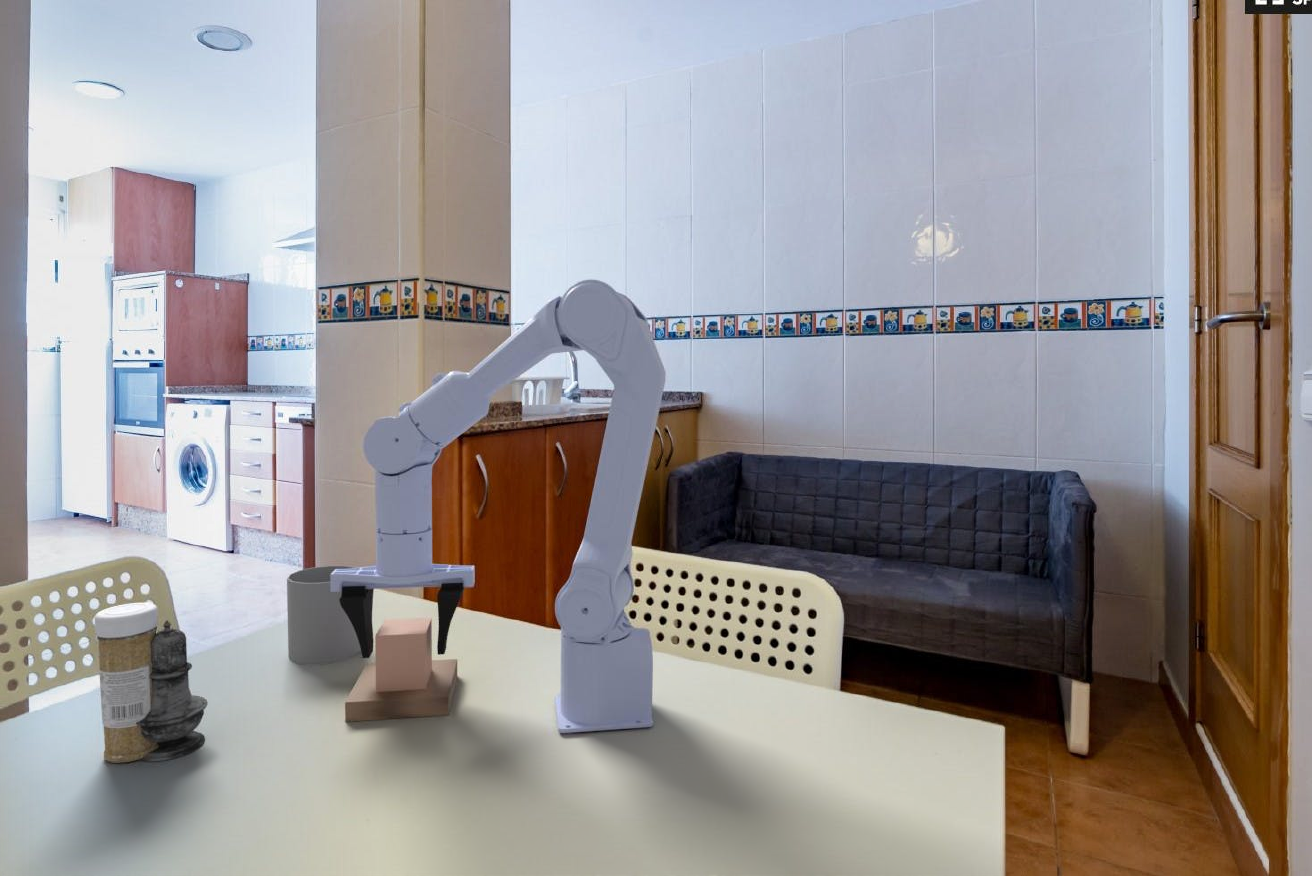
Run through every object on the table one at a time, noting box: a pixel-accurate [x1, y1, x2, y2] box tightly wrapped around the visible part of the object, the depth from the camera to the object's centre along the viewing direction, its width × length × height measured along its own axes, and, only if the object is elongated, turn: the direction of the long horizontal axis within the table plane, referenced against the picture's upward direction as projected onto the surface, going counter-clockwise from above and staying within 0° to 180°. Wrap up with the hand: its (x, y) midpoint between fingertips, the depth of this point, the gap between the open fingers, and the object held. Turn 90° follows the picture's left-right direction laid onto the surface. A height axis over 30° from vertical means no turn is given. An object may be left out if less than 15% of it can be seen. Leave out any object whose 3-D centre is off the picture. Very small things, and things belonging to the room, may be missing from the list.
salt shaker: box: [136, 620, 208, 762], centre depth 65 cm, size 6×6×12 cm
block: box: [374, 617, 433, 692], centre depth 76 cm, size 5×5×6 cm
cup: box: [286, 565, 361, 666], centre depth 89 cm, size 8×8×10 cm
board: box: [344, 658, 458, 723], centre depth 77 cm, size 10×10×2 cm
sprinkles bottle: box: [94, 602, 159, 764], centre depth 64 cm, size 5×5×13 cm
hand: (405, 653), depth 77 cm, fingers open, 7 cm apart
